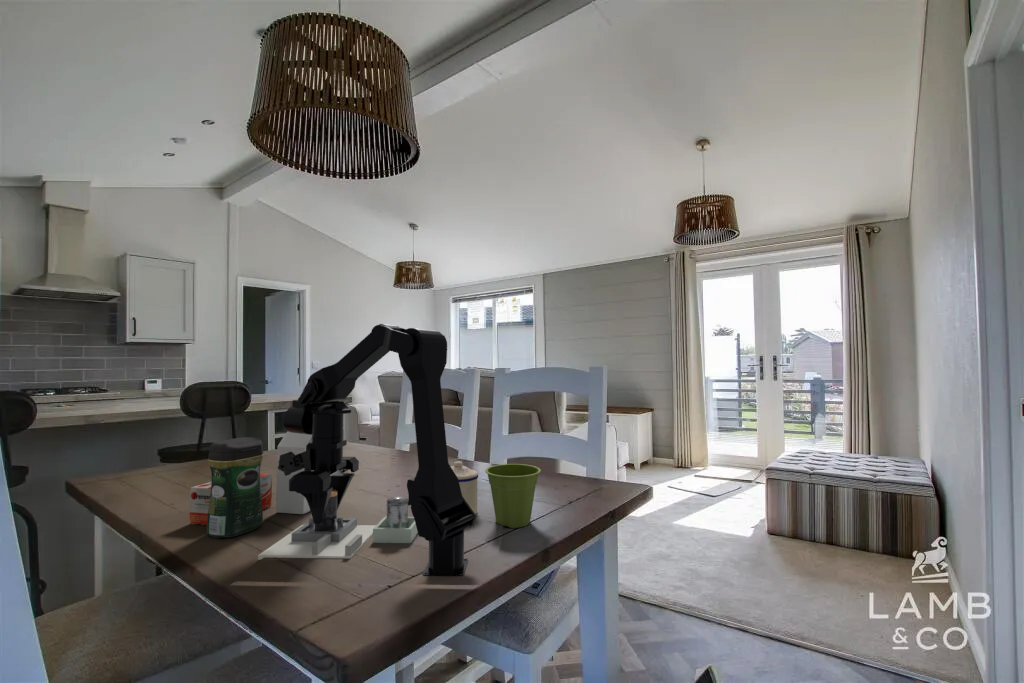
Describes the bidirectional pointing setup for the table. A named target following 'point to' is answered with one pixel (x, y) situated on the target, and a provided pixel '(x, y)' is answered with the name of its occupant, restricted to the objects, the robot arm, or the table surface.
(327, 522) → the cell
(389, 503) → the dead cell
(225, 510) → the coffee jar
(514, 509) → the plant pot
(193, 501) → the medicine box
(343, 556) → the white square base board
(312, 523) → the cradle
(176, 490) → the table surface
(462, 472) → the teacup with lid
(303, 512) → the milk carton
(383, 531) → the cup
